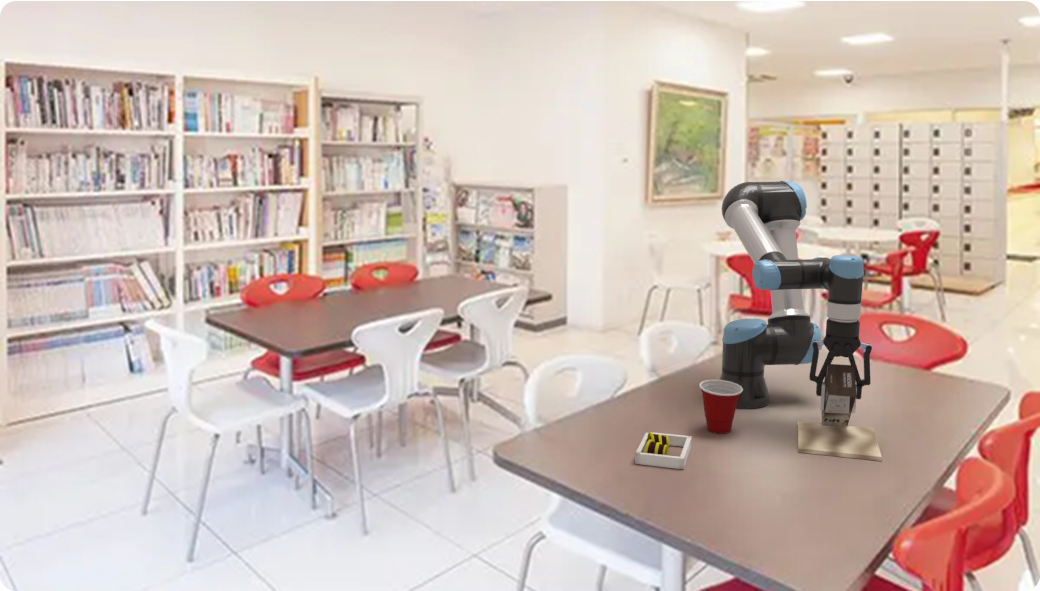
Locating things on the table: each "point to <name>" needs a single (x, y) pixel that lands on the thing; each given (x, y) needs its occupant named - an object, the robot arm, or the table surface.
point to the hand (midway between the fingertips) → (837, 409)
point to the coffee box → (839, 395)
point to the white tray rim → (665, 459)
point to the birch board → (838, 441)
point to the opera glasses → (657, 444)
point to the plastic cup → (720, 404)
